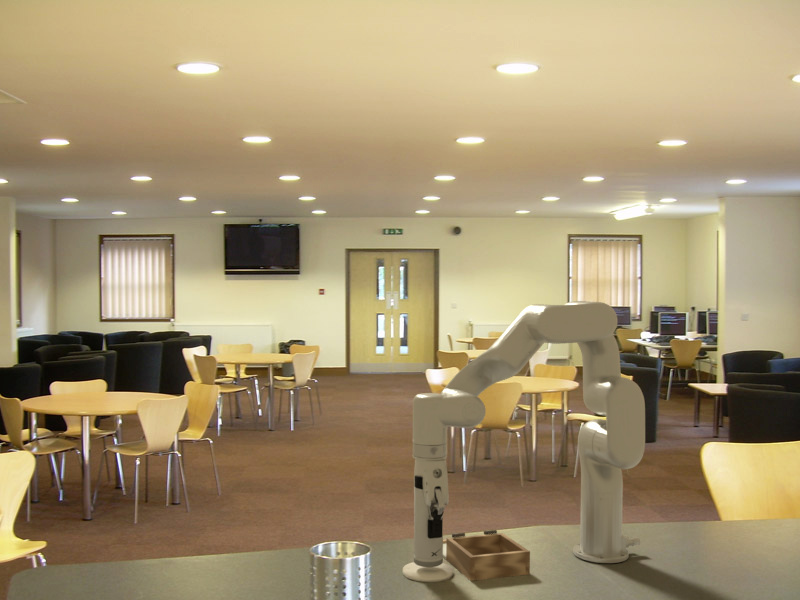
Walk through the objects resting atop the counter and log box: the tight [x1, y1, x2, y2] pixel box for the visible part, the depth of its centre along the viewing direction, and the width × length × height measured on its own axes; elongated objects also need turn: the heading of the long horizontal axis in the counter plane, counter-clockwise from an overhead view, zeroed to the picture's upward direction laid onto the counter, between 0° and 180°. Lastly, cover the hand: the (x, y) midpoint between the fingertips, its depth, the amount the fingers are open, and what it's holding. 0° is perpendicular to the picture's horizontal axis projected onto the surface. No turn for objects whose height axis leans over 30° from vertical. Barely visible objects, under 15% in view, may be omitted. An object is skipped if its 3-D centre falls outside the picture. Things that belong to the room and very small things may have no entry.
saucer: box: [402, 561, 454, 583], centre depth 179 cm, size 11×11×1 cm
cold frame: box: [442, 529, 531, 582], centre depth 189 cm, size 14×25×6 cm, turn 18°
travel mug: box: [413, 476, 444, 567], centre depth 179 cm, size 6×7×20 cm
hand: (429, 532), depth 179 cm, fingers closed on travel mug, 6 cm apart
